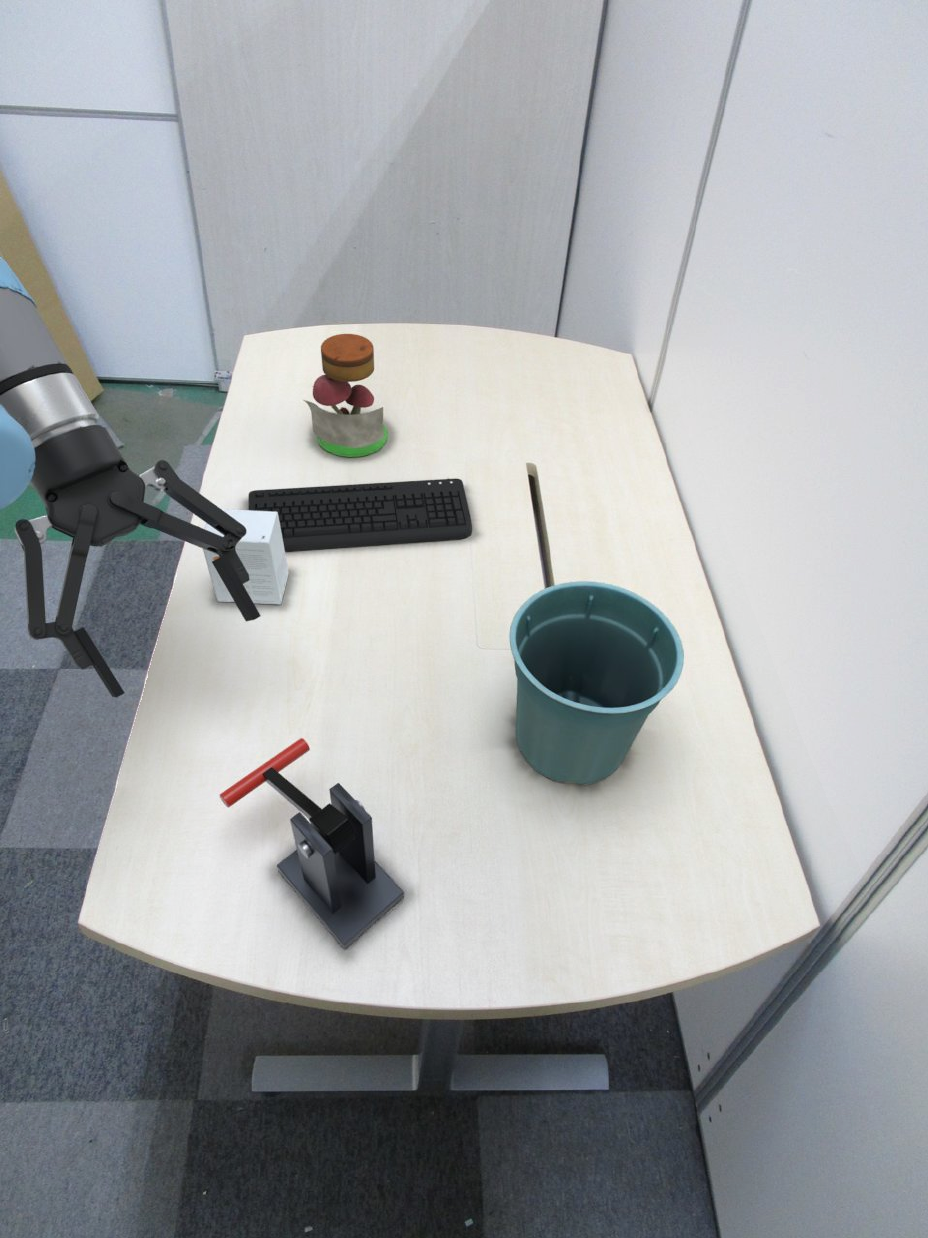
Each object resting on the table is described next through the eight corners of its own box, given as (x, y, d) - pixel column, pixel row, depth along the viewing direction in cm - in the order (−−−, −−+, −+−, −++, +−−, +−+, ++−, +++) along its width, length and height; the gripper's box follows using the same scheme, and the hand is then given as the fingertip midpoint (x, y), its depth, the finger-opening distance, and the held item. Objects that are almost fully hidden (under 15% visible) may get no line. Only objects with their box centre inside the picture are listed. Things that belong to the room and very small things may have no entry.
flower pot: (484, 682, 90) (496, 583, 78) (622, 672, 92) (654, 575, 80) (509, 811, 79) (527, 720, 67) (664, 797, 81) (709, 705, 69)
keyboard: (249, 554, 102) (247, 543, 100) (250, 500, 109) (248, 489, 107) (473, 538, 106) (474, 527, 105) (460, 487, 113) (461, 476, 112)
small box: (289, 574, 100) (279, 510, 92) (281, 606, 96) (270, 542, 88) (226, 570, 100) (211, 506, 92) (215, 602, 96) (198, 538, 88)
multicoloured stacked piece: (307, 415, 123) (298, 325, 112) (388, 414, 125) (386, 325, 114) (306, 461, 115) (296, 369, 104) (392, 459, 117) (391, 368, 106)
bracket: (277, 870, 74) (258, 803, 64) (337, 824, 77) (327, 754, 68) (344, 950, 69) (334, 890, 60) (404, 897, 73) (404, 833, 63)
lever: (224, 807, 71) (215, 788, 70) (305, 750, 76) (297, 731, 75) (301, 882, 63) (292, 862, 61) (387, 812, 67) (380, 793, 66)
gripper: (183, 401, 76) (290, 594, 80) (-93, 509, 64) (51, 728, 68) (201, 376, 70) (316, 587, 74) (-102, 491, 58) (57, 734, 62)
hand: (189, 655), depth 71 cm, fingers open, 13 cm apart
